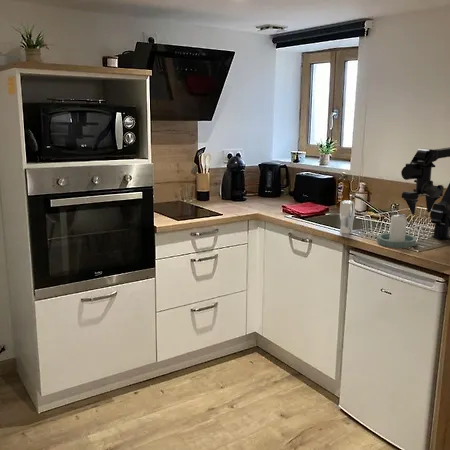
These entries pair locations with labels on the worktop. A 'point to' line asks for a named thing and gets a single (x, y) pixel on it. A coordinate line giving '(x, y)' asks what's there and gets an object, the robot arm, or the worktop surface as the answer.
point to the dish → (385, 241)
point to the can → (398, 227)
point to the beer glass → (347, 216)
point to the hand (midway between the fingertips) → (420, 213)
